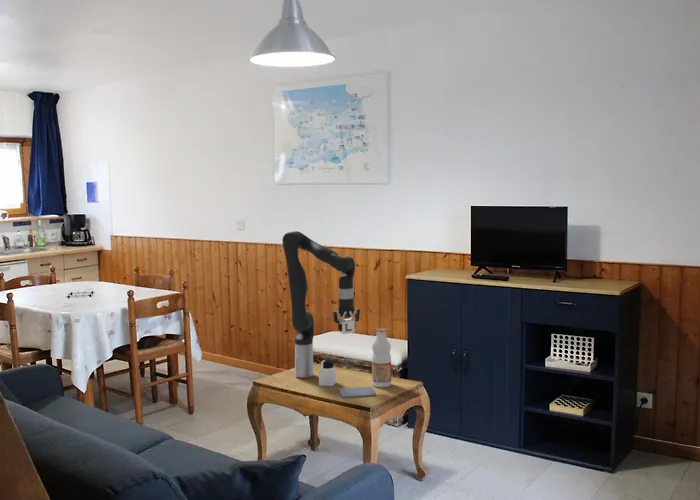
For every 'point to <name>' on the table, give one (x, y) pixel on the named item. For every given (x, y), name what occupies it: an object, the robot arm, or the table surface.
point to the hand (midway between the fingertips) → (346, 330)
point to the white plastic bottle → (381, 360)
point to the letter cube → (348, 326)
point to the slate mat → (357, 392)
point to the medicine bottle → (327, 373)
